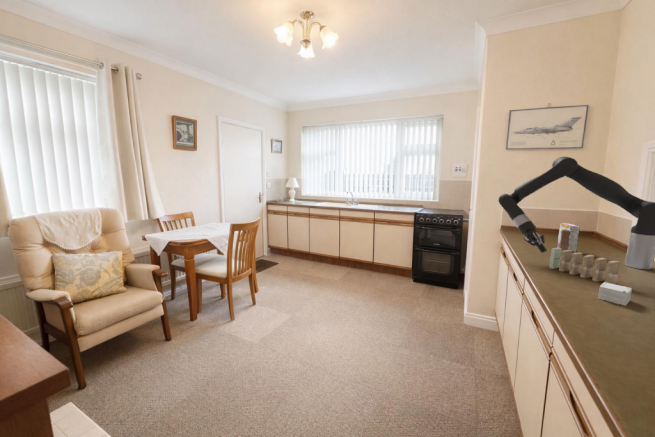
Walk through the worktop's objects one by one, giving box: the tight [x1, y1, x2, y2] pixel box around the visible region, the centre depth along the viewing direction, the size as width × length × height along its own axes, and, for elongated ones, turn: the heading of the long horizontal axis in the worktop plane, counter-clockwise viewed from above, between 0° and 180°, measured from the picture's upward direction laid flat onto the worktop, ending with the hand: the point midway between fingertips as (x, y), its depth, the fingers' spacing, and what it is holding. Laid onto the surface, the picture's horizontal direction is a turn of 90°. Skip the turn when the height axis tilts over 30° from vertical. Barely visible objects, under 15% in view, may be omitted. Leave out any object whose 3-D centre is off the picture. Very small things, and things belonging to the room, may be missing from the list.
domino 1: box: [548, 247, 562, 270], centre depth 144 cm, size 2×5×10 cm, turn 111°
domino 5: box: [591, 257, 608, 283], centre depth 127 cm, size 2×5×10 cm, turn 110°
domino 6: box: [604, 260, 621, 285], centre depth 123 cm, size 2×5×10 cm, turn 110°
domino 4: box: [580, 254, 595, 279], centre depth 131 cm, size 2×5×10 cm, turn 110°
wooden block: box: [559, 230, 574, 259], centre depth 163 cm, size 7×3×15 cm, turn 58°
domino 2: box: [558, 250, 572, 273], centre depth 140 cm, size 2×5×10 cm, turn 111°
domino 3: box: [568, 252, 584, 276], centre depth 135 cm, size 2×5×10 cm, turn 110°
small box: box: [597, 281, 633, 307], centre depth 108 cm, size 8×8×5 cm
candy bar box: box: [556, 222, 581, 253], centre depth 174 cm, size 11×5×16 cm, turn 168°
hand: (544, 251), depth 149 cm, fingers closed
